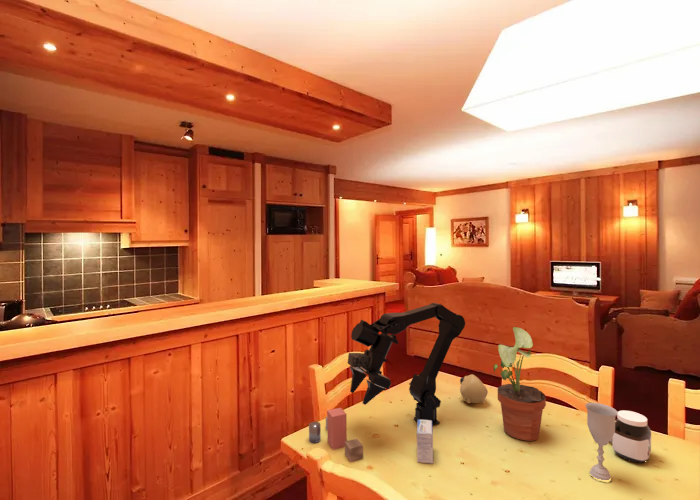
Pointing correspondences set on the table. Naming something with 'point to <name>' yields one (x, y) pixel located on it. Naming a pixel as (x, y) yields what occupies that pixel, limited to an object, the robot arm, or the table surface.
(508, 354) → the potted plant
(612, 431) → the chalice
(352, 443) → the walnut block
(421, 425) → the medicine box
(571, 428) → the table surface
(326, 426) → the slate grey block
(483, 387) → the toy pig
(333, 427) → the dusty red block
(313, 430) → the grey metal cylinder
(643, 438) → the spread jar
